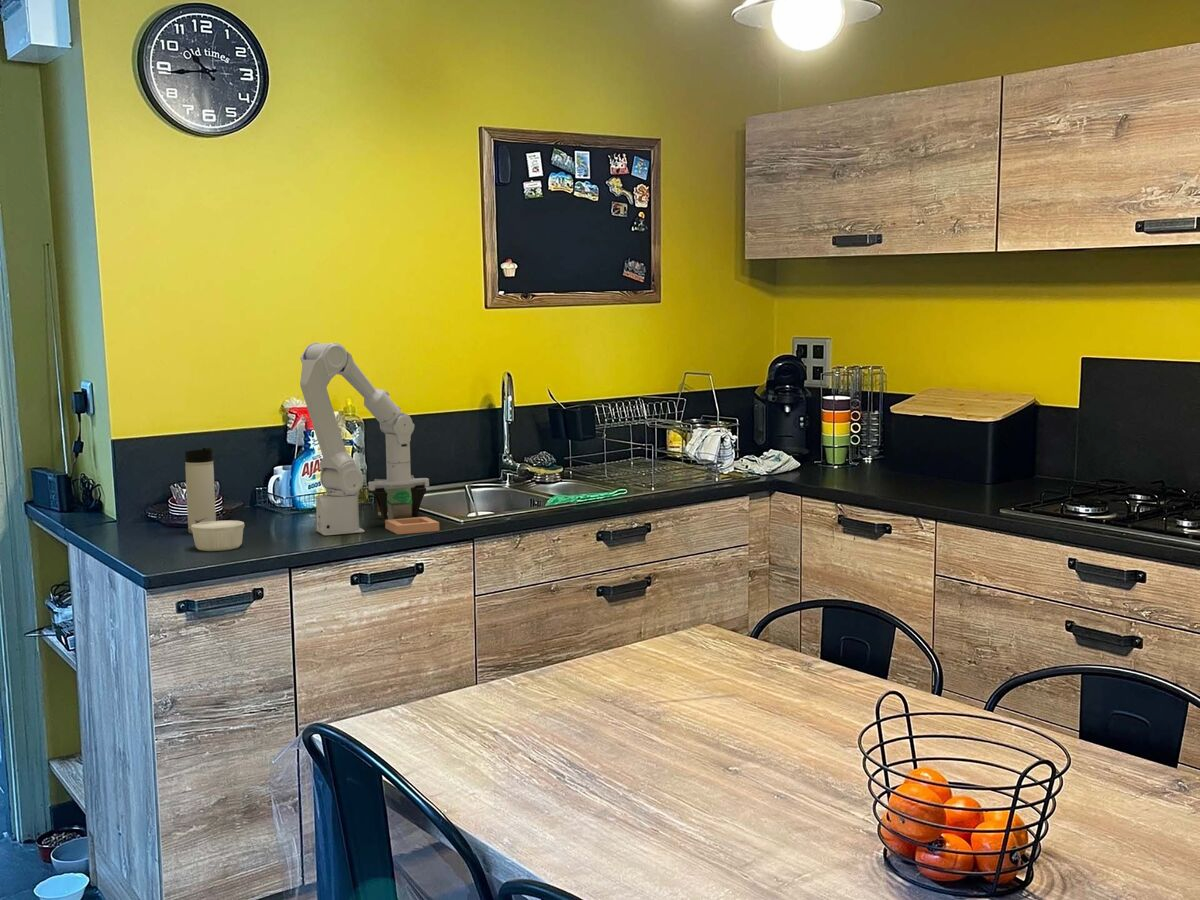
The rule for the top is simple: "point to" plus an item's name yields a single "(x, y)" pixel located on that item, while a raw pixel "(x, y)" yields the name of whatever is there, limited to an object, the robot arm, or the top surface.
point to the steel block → (399, 510)
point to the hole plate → (412, 525)
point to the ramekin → (218, 535)
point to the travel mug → (200, 486)
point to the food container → (397, 495)
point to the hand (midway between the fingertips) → (400, 518)
